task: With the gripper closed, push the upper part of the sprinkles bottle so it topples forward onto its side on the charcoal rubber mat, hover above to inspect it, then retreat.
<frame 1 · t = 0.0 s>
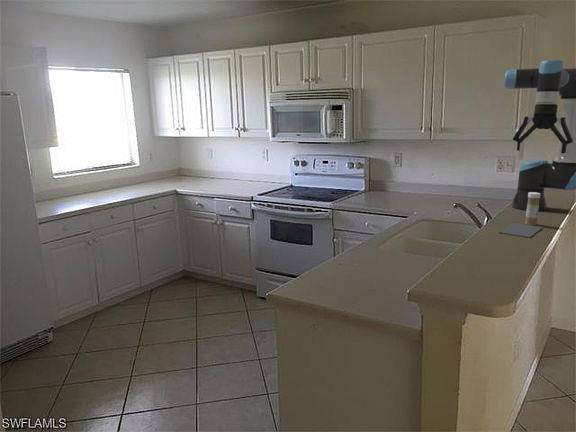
hand: (539, 160, 183), 28 cm above the table, fingers open, 13 cm apart
sprinkles bottle: (530, 224, 202), on the table
mat: (521, 230, 191), on the table
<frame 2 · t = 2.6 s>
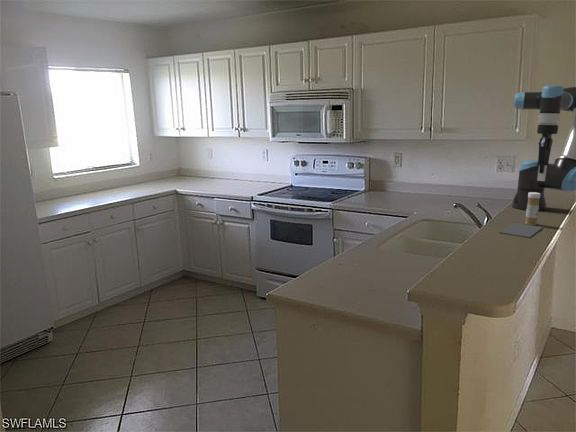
hand: (540, 180, 204), 18 cm above the table, fingers closed
nothing on the table moved.
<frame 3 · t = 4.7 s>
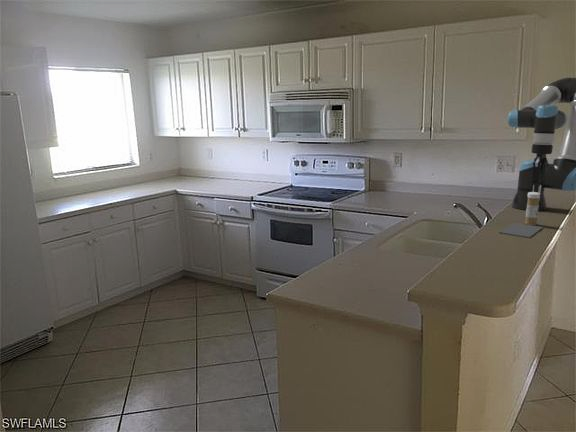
hand: (535, 200, 202), 10 cm above the table, fingers closed
sprinkles bottle: (530, 224, 202), on the table, touching gripper
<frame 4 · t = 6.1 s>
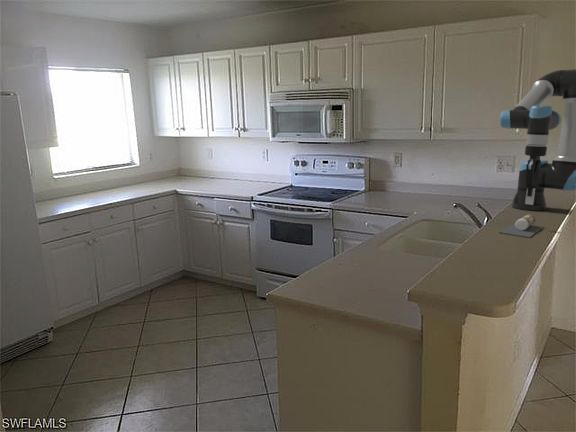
hand: (529, 204, 195), 10 cm above the table, fingers closed
sprinkles bottle: (529, 219, 200), point 2 cm above the table, touching mat
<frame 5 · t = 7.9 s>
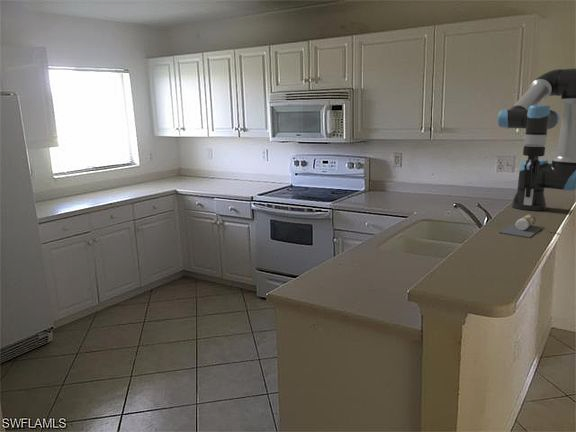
hand: (527, 204, 193), 10 cm above the table, fingers closed
nothing on the table moved.
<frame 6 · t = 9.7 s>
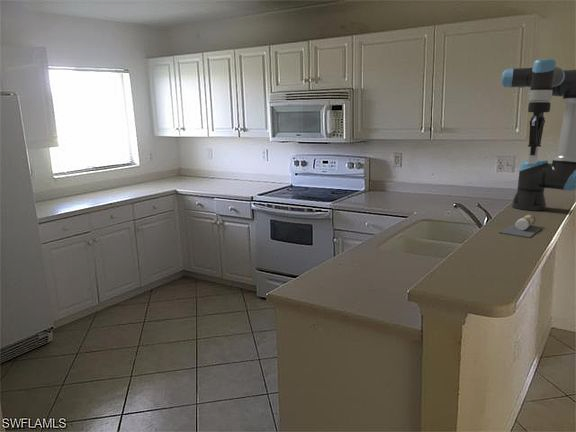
hand: (532, 163, 189), 26 cm above the table, fingers closed
nothing on the table moved.
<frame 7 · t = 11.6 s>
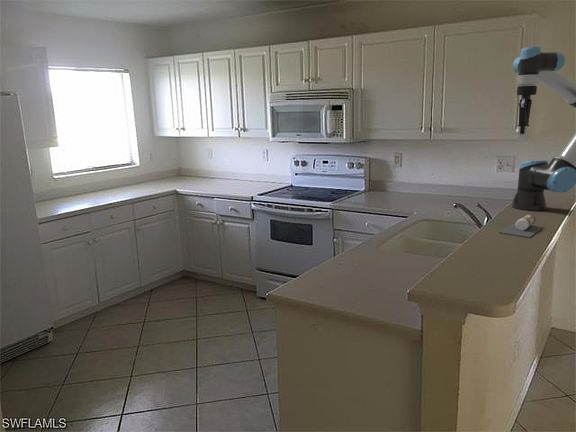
hand: (521, 141, 209), 33 cm above the table, fingers closed
nothing on the table moved.
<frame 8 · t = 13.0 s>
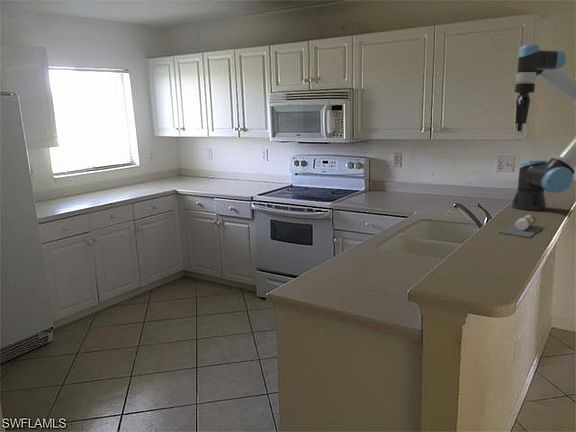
hand: (519, 138, 212), 34 cm above the table, fingers closed
nothing on the table moved.
at the end: sprinkles bottle tilted 89°; sprinkles bottle touching mat; sprinkles bottle inside the target area (7.6 cm from its centre), point 2.4 cm above the table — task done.
